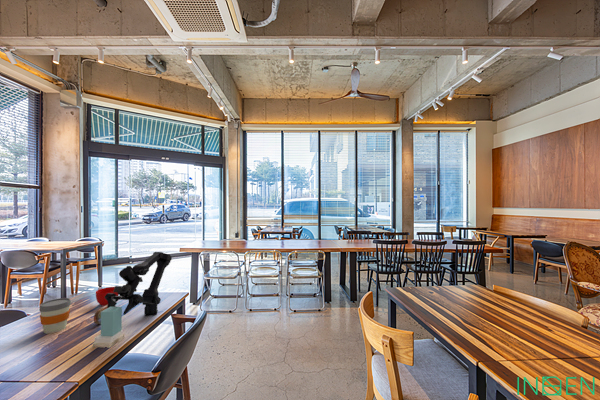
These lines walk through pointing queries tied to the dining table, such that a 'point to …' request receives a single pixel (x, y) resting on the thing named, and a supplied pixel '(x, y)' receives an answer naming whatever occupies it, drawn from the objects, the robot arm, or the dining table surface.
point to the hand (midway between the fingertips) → (115, 314)
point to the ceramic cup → (102, 293)
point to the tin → (99, 315)
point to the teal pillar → (111, 321)
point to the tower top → (108, 338)
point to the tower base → (108, 343)
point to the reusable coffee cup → (54, 314)
